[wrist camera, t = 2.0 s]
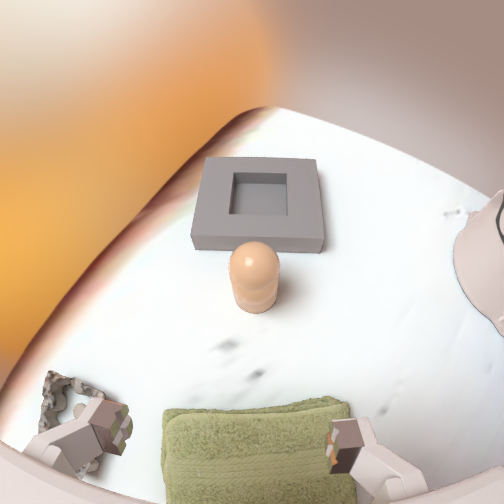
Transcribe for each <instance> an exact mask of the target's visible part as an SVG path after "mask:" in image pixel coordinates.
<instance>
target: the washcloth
mask: <svg viewBox="0 0 504 504" xmlns="http://www.w3.org/2000/svg"><path fill="white" fill-rule="evenodd" d="M162 419H163V420H162V428H163V436H162V448H161V450H162V453H161V467H162V473H163V480H164V483H165V485H166V504H357V497H356V493H355V492H356V488H355V483H354V482H353V480H354V478H353V477H352V476H351V475H350V473H342V474H329V471H328V465H327V461H328V458H329V457H328V456H327V455H326V454H325V446H324V443H325V437H326V433H328V432H329V427H328V426H329V423H330V421H331V420H340V419H351V418H350V408H349V406H348V403H347V402H340V401H339V400H336V399H334V398H331V397H329V396H323V397H322V398H320V399H319V398H317V399H311V398H310V399H308V400H303V401H301V402H294V403H292V404H289V405H286V406H284V405H283V406H278V407H277V406H274V407H268V408H261V409H247V410H231V411H221V410H216V409H215V410H213V409H212V410H206V409H198V410H197V409H189V410H185V409H167V410H165V411H164V413H163V418H162Z"/></svg>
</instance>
